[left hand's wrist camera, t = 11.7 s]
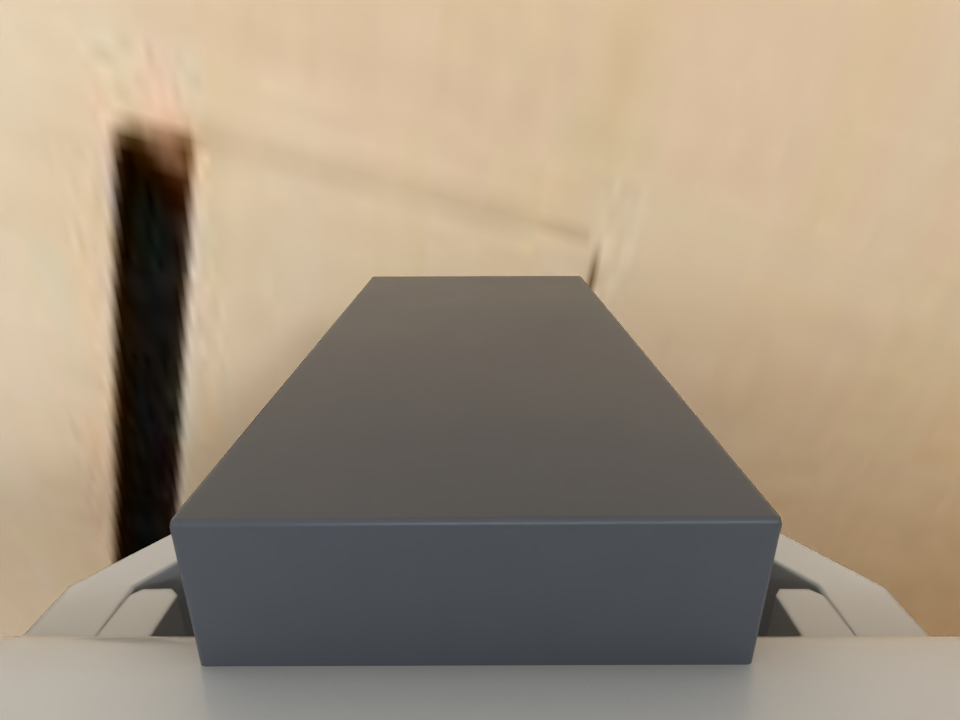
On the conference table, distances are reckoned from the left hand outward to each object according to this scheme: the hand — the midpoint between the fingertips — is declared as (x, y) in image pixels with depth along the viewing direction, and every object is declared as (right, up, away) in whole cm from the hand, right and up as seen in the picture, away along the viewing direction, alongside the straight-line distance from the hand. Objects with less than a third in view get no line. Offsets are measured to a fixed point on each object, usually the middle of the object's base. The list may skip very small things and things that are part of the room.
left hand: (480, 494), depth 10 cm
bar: (0, -8, +7) cm, 11 cm away
